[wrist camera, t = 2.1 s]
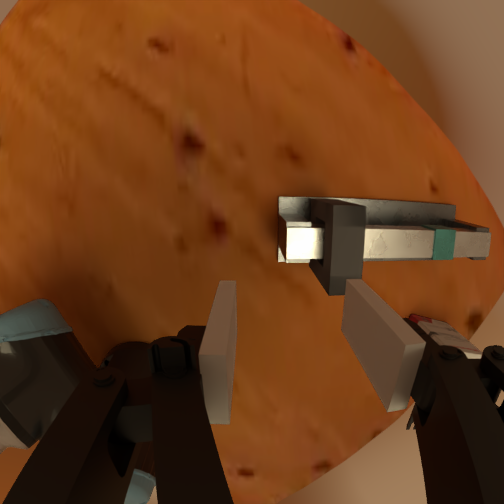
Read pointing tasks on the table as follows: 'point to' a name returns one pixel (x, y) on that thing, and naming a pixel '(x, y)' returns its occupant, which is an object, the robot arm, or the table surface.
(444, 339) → the ink box
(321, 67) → the table surface
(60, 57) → the table surface
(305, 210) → the pipe rail
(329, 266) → the ring collar
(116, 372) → the robot arm
